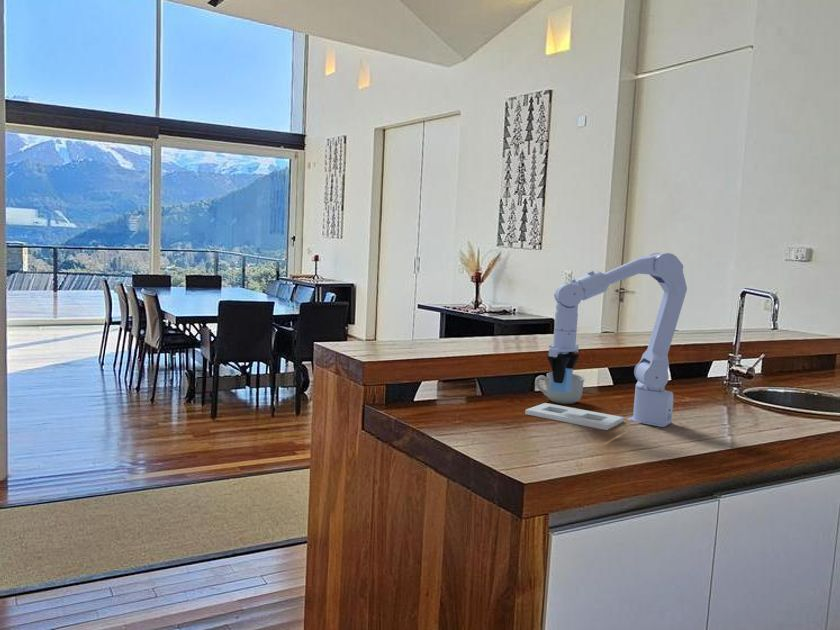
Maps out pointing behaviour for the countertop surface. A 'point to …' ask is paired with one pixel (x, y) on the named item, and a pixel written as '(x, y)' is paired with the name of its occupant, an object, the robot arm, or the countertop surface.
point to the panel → (575, 416)
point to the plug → (566, 383)
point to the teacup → (562, 397)
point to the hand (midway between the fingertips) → (561, 381)
